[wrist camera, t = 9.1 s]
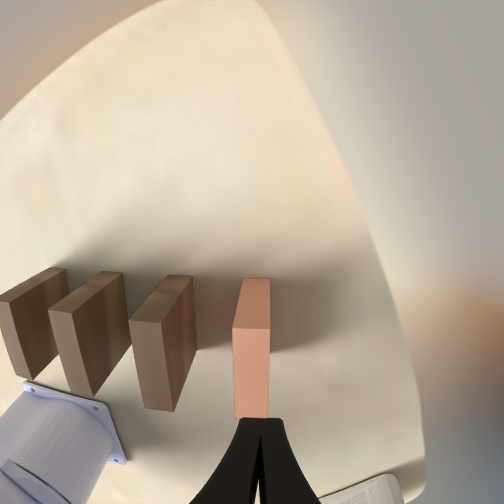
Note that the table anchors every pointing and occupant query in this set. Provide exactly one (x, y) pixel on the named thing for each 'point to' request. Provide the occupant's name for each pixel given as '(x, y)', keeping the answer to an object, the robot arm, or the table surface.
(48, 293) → the walnut domino
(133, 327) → the walnut domino
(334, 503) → the white box with text
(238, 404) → the terracotta domino
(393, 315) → the table surface
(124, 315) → the walnut domino
